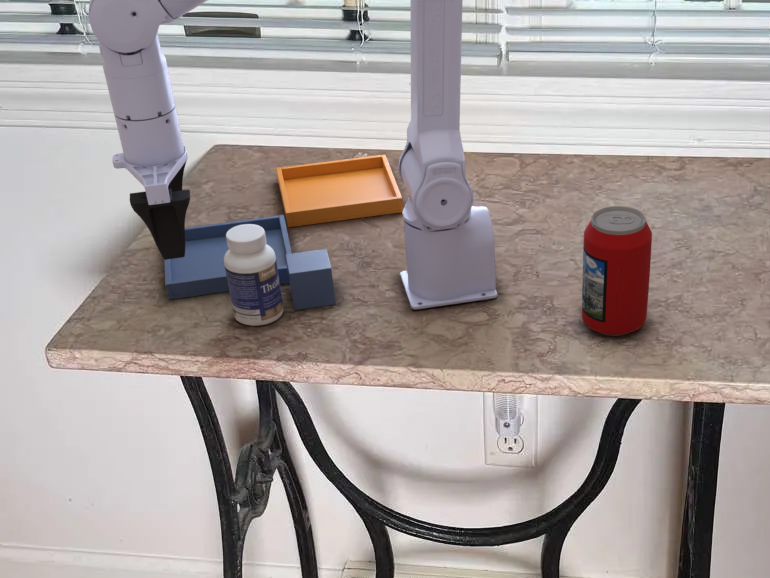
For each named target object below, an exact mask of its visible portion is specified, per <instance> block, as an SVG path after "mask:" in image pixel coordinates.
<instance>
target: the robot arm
mask: <svg viewBox="0 0 770 578" xmlns="http://www.w3.org/2000/svg"><path fill="white" fill-rule="evenodd" d="M208 1H209V0H89V4H88V20H89V21H88V22H89V25H90V28H91V31H92V33H93V34H94V36H95V38H96V39H97V41H98V43H99V44H98V47H99V52H100V55H101V57H102V59H103V63H102V69H103V73H104V77H105V82H106V87H107V90H108V94H109V98H110V99H109V100H110V103H111V107H112V112H113V115H114V119H115V123H116V127H117V131H118V132H117V133H118V136H119V140H120V144H121V148H122V152H121V153H115V154H113V155H112V165H113V168H114V169H119V170H120V169H126V170H127V171H128V172H129V173H130V174H131V175H132V176H133V177H134V178H135V179H136V180H137V181H138V182H139V183H140V185H142V186H143V187H144V191H138V192H130V193H129V205H130V207H131V208H132V210H133V212H134V213H136V214H137V216H138V217H139V218H140V219H141V220H142V222H143V223H144V225H146V227H147V229H148V230H149V233H150V235H151V237H152V239H153V241H154V243H155V245H156V247H157V250H158V252H159V254H160V256H161V257H162V258H163V260H164V259H165V260H167V259H174V258H182V257H185V228H186V215H187V212H188V208H189V205H190V201H191V189H183V180H184V173H185V169H186V168H185V167H186V165H187V162H188V157H189V155H188V150H187V147H186V146H185V145H184V142H183V136H182V131H181V126H180V121H179V116H178V111H177V106H176V103H175V102H176V101H175V96H174V93H173V87H172V82H171V77H170V72H169V67H168V63H167V58H166V56H165V54H164V53H163V51H162V48H161V43H160V38H159V28H160V26H161V25H164V24H170V23H173V22H174V21H175V20H177V19H180V17H183V16H184V15H186V14H187V13H189V12H191V11H192V10H194V9H196V8H198V7H199V6H201V5H203V4H204V3H206V2H208ZM463 1H464V0H410V121H409V123H408V125H407V128H406V143H405V146H404V148H403V151H402V152H401V154H400V156H399V159H398V164H397V167H398V168H397V171H398V176H399V178H400V180H401V182H402V184H403V185H404V187H405V189H406V191H407V194H408V197H407V199H406V202H405V204H404V205H403V212H402V221H403V222H402V223H403V233H404V246H405V259H406V270H402V271H400V272H399V278H400V280H401V283H402V286H403V289H404V291H405V294H406V297H407V300H408V302H409V306H410V309H412V310H421V309H422V310H423V309H429V308H436V307H443V306H451V305H458V304H464V303H465V304H466V303H471V302H478V301H485V300H491V299H496V298H497V297H498V291H497V284H496V279H497V278H496V277H497V276H496V248H495V247H496V245H495V232H494V227H493V221H492V217H491V214H490V210H489V209H488V208H487V207H486V206H475V205H473V204H474V190H473V188H472V185H471V184H470V182H469V180H468V178H467V174H466V158H465V157H466V156H465V151H464V147H463V141H462V136H461V129H460V125H461V88H462V87H461V85H462V84H461V83H462V82H461V81H462V45H463V44H462V41H463V39H462V38H463V33H462V32H463Z"/></svg>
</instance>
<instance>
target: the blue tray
mask: <svg viewBox="0 0 770 578" xmlns="http://www.w3.org/2000/svg"><path fill="white" fill-rule="evenodd" d="M243 224H255V225H259V226H261V227H262V228H263V229H264V231H265V235H266V242H267V243H266V244H267V245H269V246H270V247H271V248H272V249H273V250H274V252H275V256H276V262H277V268H278V275H279V282H280V285H283V284H290V283H289V276H288V270H287V263H286V257H285V255H286V254H291V253H292V249H291V243H290V238H289V234H288V230H287V223H286V218H285V214H279V215H271V216H265V217H264V216H263V217H257V218H256V217H255V218H250V219H241V220H231V221H226V222H225V221H224V222H217V223H210V224H202V225H195V226H187V227H186V226H185V257H182V258H174V259H167V260H165V259H164V258H163V260H164V261H163V263H164V283H165V284H164V286H165V290H166V295H167V299H168V300H175V299H176V300H177V299H183V298H189V297H197V296H204V295H205V296H206V295H213V294H219V293H226V292H229V287H228V281H227V276H226V271H225V266H224V256H225V254H226V252H227V251H228V250H229V248H228V246H227V239H226V233H227V232H228V230H230V229H231V228H233V227H235V226H238V225H243Z"/></svg>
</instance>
